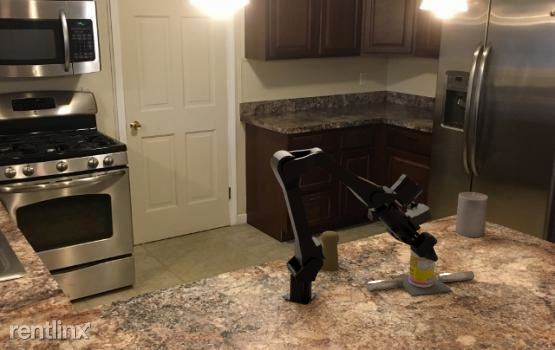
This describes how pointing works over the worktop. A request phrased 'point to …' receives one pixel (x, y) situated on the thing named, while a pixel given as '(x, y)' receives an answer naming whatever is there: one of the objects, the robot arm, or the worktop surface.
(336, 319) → the worktop surface
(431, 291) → the rubber pad
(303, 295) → the robot arm
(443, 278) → the steel shafts
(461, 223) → the pillar candle
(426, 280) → the supplement bottle
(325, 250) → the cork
